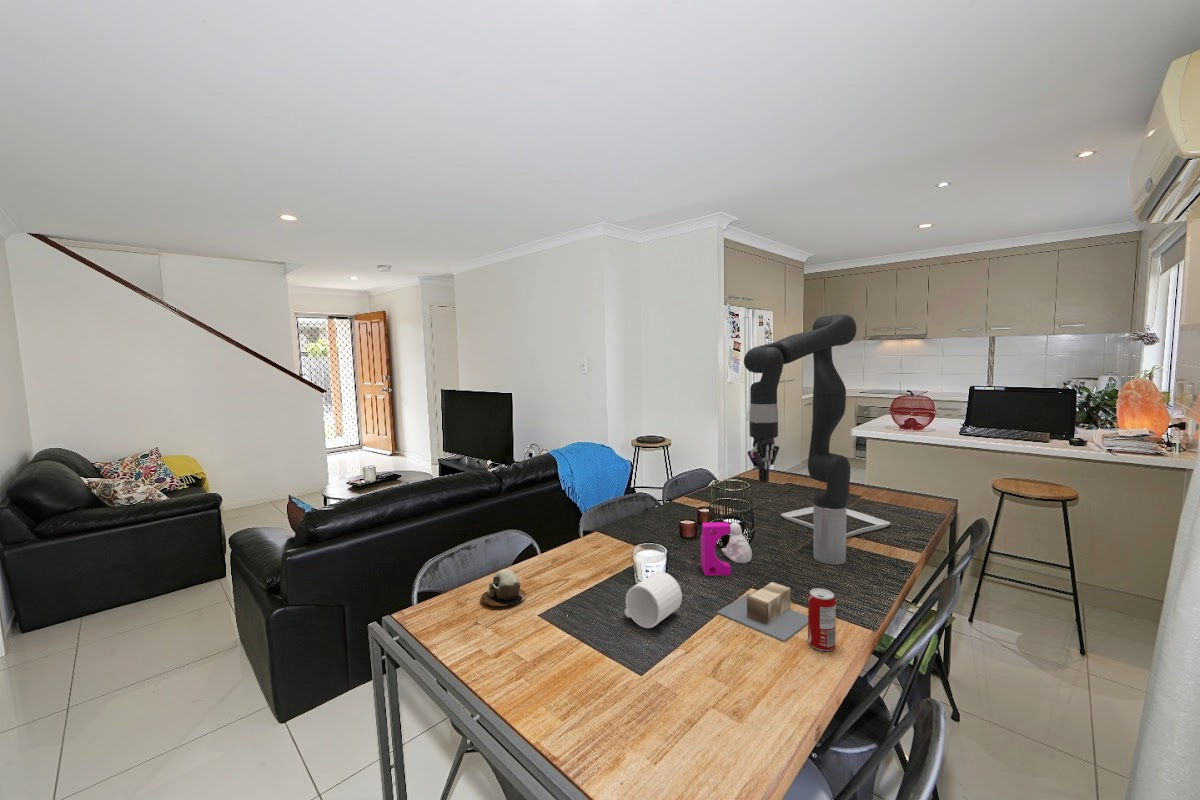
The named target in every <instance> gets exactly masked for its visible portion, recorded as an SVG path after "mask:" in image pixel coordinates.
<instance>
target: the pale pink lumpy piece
mask: <svg viewBox="0 0 1200 800" xmlns="http://www.w3.org/2000/svg"><path fill="white" fill-rule="evenodd" d="M729 525H730V530H731V533H729V540H728V543H727V545H726V547H723V548H721V551H722V553H723V554H724V555H725V556H726V558H728V559H729V560H730V561H733V562H734V563H739V564H747V563H750V562H751V560H752V558H753V552H752V548H751V546H750V544H749V542H748V541H747V540H746V539H747V538H746V537H745V536H744V534H743V533H742V532H743V530H742V527H741V525H740V524H739V523H738V522H732V523H729Z"/></svg>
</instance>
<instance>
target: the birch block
mask: <svg viewBox="0 0 1200 800" xmlns="http://www.w3.org/2000/svg"><path fill="white" fill-rule="evenodd" d="M791 590H792V589H791V587H789V586H785V585H783V584H779V583H776V582H774V581H771V582H769V583H768V584H766V585H765V586H763V587H762V588H760V589H758V590H756V591H755V592H753V593H752V594H750V596H748V597H747V617H748V618H750V619H753V620H755V621H758V622H760V623H763V624H765V625H766V624H768V623H769V622H770V621H772V620H773V619H775V618H776V617H777V616H779V615H780V614H782V613H783V612H784V611H786V610H787V609H791V603H792V602H791V601H792V599H791Z"/></svg>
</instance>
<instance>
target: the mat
mask: <svg viewBox="0 0 1200 800" xmlns="http://www.w3.org/2000/svg"><path fill="white" fill-rule="evenodd" d="M750 595H751V594H750V593H746V594H744V595H743V596H741V597H740V598H738V599H736V600H735V601H733V602H731V603H730V604H728V605H726V606H724V607H723V608H721V609H719V610H717V611H716V614H718V615H719V616H722V617H724V618H727V619H729V620H731V621H734V622H737V624H741V625H743V626H746V627H748V628H749V629H753V630H755V631H757V632H759V633H762V634H764V635H766V636H769V637H771V638H774V639H776V640H778V641H781V642H782V643H783V642H784V643H786V642H787V641H788V640H789V639H791V638H792V637H793V636H795V635H796V634H797V633H798V632H799V631H801V630H802V629H804V628H806V626H808V614H807V615H806V614H803V613H801V612H798V611H796V610H793V609H791V608H789V609H787V610H786V611H784V612H783V613H782V614H780V615H779V616H777V617H776V618H775V619H773V620H772V621H770V622H769V623H768V624H766V625H765V624H763V623H760V622H758V621H755V620H753V619H750V618H748V617H747V597H748V596H750Z"/></svg>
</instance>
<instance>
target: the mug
mask: <svg viewBox="0 0 1200 800" xmlns="http://www.w3.org/2000/svg"><path fill="white" fill-rule="evenodd" d="M682 601H683V593H682V588H681V586H680V584H679V583H678V581H677V580H676V578H674V577H673V576H672V575H671V574H669V573H667V572H666V571H665V572H664V571H658V572H655V573H652V574H651V575H649V576H648V577H646V578H645V579H643V580H641V581H640V582H637V583H636V584H635V585H633V586H631V587H630V588H629V589H628V590H627V592H626V596H625V607H626V608H625V609H624V613H625V615H624V616H626V617H627V619H628V618H631V619H632V620H633V621H634V623H636V624H637V625H638V626H639V627H641V628H643V629H651V628H654V627H655V626H657V625H658V624H660V622H662V621H663V620H664V619H666V618H667V617H669V616H670V615H671V614H673V613H674V612H676V610H678V609H679V608H680V606H681V604H682Z"/></svg>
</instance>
